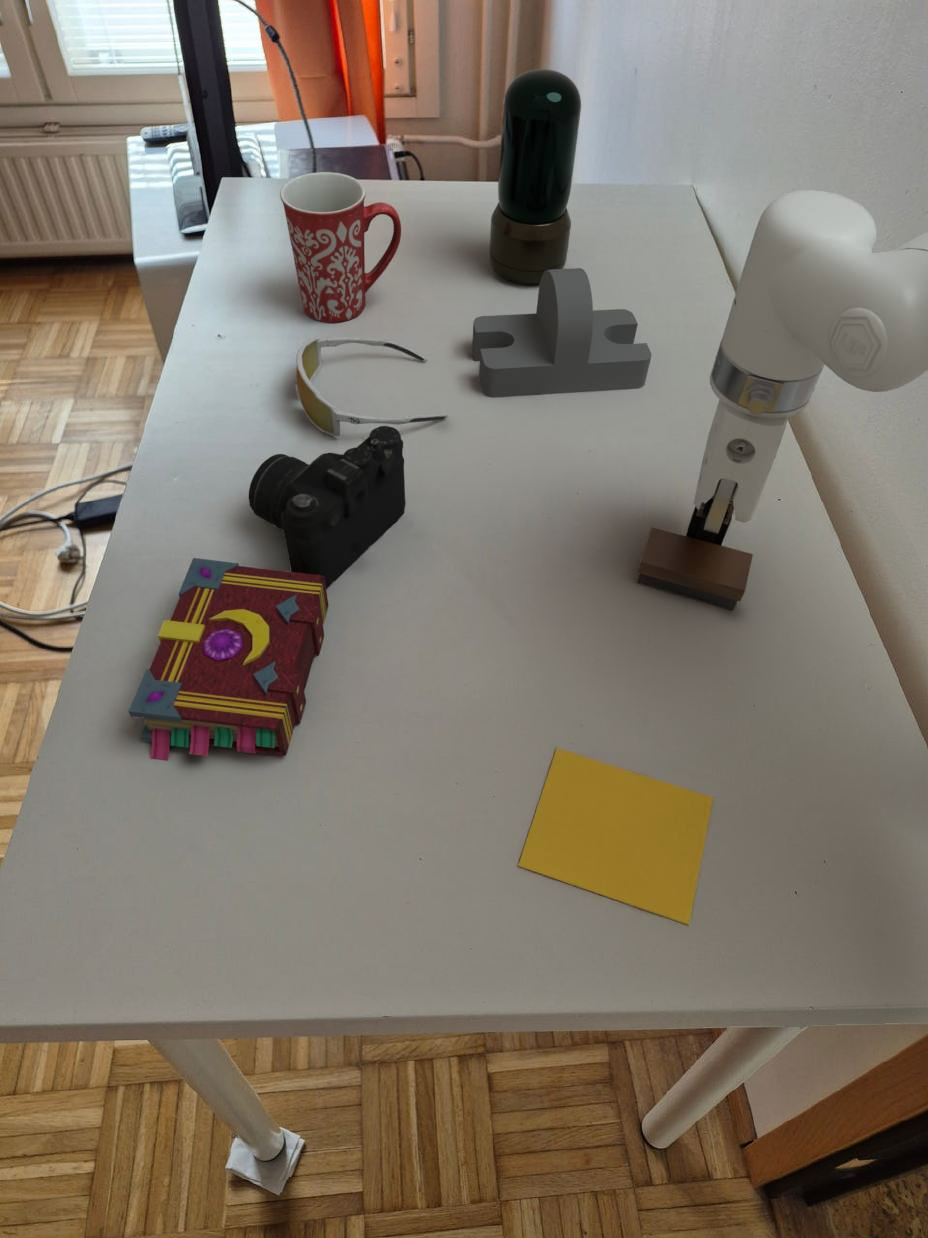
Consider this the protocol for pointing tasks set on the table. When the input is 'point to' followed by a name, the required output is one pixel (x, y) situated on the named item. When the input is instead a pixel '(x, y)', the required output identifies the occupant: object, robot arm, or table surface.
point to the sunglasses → (325, 412)
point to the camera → (333, 502)
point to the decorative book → (233, 660)
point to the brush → (694, 568)
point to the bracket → (559, 344)
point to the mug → (333, 242)
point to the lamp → (535, 176)
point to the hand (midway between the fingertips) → (703, 540)
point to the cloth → (619, 835)
